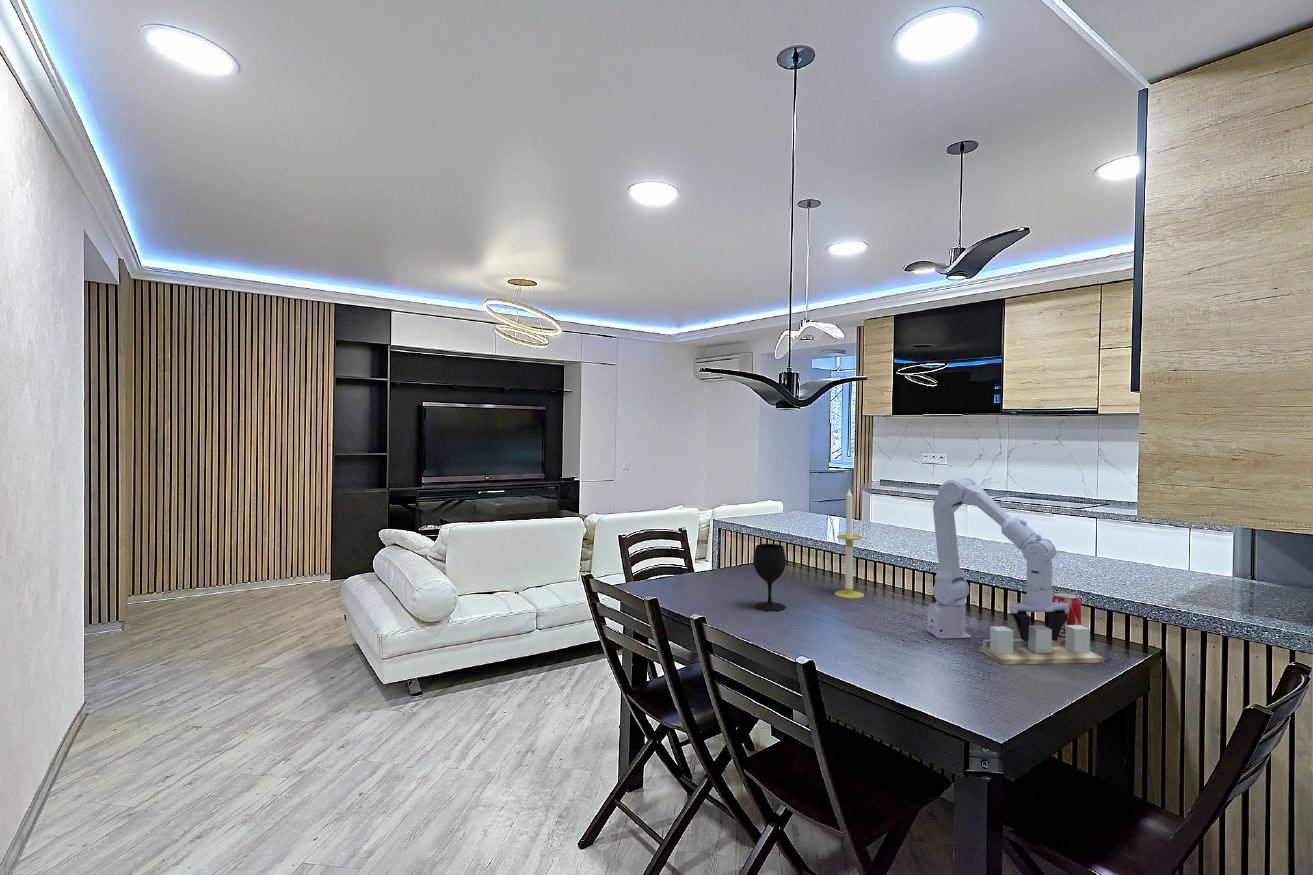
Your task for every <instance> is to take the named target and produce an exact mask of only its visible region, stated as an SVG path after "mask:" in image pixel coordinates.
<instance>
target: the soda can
mask: <svg viewBox="0 0 1313 875" xmlns="http://www.w3.org/2000/svg"><path fill="white" fill-rule="evenodd" d="M1052 602H1055V603H1066V604H1068V605H1069V612H1065V613H1066V614H1068V619H1067V620H1066V621H1065V623H1064V624H1063V626H1062V628H1061V630H1060V633H1059V636H1058V638H1066V625H1082V603H1081V601H1080V599H1079V595H1078V594H1075V593H1069V592H1061V591H1059V592H1054V594H1053V596H1052Z"/></svg>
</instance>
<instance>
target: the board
mask: <svg viewBox="0 0 1313 875" xmlns="http://www.w3.org/2000/svg"><path fill="white" fill-rule="evenodd" d="M980 652H981V653H983V654H985V655H986V656H988V657H989V658H991V659H993V660H994V661H995V662H997V663H998V664H1000V665H1004V666H1005V665H1008V666H1009V665H1040V664H1041V665H1045V664H1049V665H1050V664H1053V665H1054V664H1090V663H1091V664H1093V663H1094V664H1095V663H1096V664H1097V663H1105V657H1103V656H1101V655H1099V654H1098V653H1096V652H1094V651H1091V650H1090V653H1074V652H1072V651H1070V650H1068V649H1066V648H1065V647H1052V653H1035V652H1033V651H1031V650H1029V649H1028V647H1020V648H1013V654H996V653H994V652H993V651H991V650H990V648H984V647H983V645H982V646H980Z"/></svg>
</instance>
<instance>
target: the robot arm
mask: <svg viewBox="0 0 1313 875" xmlns="http://www.w3.org/2000/svg"><path fill="white" fill-rule="evenodd" d="M937 491H938V492H937V493H938V494H937V495H936V498H935V500H934V503H933V504H932V513H933V522H934V531H935V540H936V541H935V542H936V549H937V560H938V571H937V572H936V574H935V576H934V585H933V588H932V594H933V596H934V598H935V600H936V602H933V603H930V604H928V606H927V616H926V617H927V619H926V620H927V623H926V624H927V625H926V626H927V627H926V631H927V632H928V633H930V634H931V635H933V636H934V637H935V638H937V639H971V638H972V635H971V634H968V632H966V598H967V597H968V595H970V586H969V584H968V582H967V580H966V576H965V572H964V571H963V570H962V569H961V568H960V559H959V550H958V540H957V539H958V538H957V530H956V518H955V512H956V511H957V510H958V509H960V507H961V506H962V505H968V506H975V507H977V508H978V509H980V510H981V511H982V512H983V513H985V515H987V516H988V517H989V518H990V519H992V520H993V521H994V522H996V523H997V524H998V525H999V526H1000V530H1001V534H1003V536H1004V537H1005V538H1007V539H1008V540H1009V541H1011V543H1012V544H1014V545H1015V546H1016V547H1017V548H1018V549H1019V550H1020V551H1022V556H1023V558H1024V559H1025V561H1026V601H1023V602H1017V603H1016V602H1015V603H1009V612H1010V614H1011V616H1012V617H1013V620H1014V622H1015V624H1016V625H1017V629H1018V632H1019V635H1020V636H1019V637H1020V639H1022V640H1024V641H1028V639H1029V626H1031V624H1030V623H1031V620H1032V616H1031V615H1028V613H1046V615H1047V617H1048V618H1047V620H1048V628H1050V629H1052V640H1054V641H1057V640H1058V636H1059V633H1060V630H1061V628H1062V626H1063V624H1064V623H1065V621H1066V620H1067V619H1068V614H1066V613H1065V612H1069V605H1068V604H1066V603H1055V602H1052V598H1053V559H1054V558H1055V557H1056V554H1057V549H1056V546H1055V545H1054V543H1052V541H1051V540H1050V539H1047V538H1043V535H1041V533H1036V532H1035V531H1034V530H1033V529H1032V528H1031V527H1029V525H1027V524H1028V522H1027V521H1026V520H1025V519H1020V518H1019V517H1011V516H1010V515H1009V514H1008V513H1007V512H1006V511H1005V510H1004V509H1003V508H1002V507H1001V506H1000V505H999V504H998V503H997V502H996V501H995V500H993V498H992V497H991V496H989V495H988V493H987V492H986V491H985V490H984V489H983V487H982V486H981V485H979V484H977V483H976V482H975V481H974V480H973V479H972V478H967V477H965V478H961V479H960V478H959V479H948V480H946V481H945V482H943V483H942V484H941V485H940V486H939V487H938V488H937Z"/></svg>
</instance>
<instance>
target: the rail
mask: <svg viewBox="0 0 1313 875" xmlns="http://www.w3.org/2000/svg"><path fill="white" fill-rule="evenodd" d="M1065 643H1066V638H1058V640H1057V641H1054V640H1052V647H1065ZM982 646H983V647H984V648H990V639H982ZM1020 647H1028V641H1024V640H1022V639H1021V638H1015V639H1014V638H1013V648H1020Z"/></svg>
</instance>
